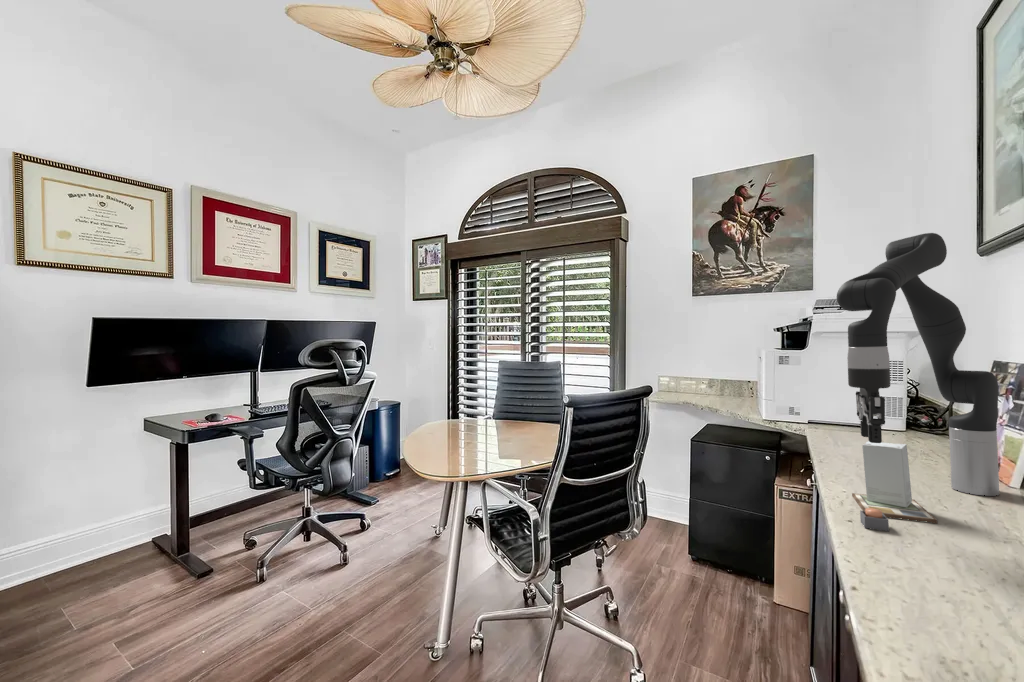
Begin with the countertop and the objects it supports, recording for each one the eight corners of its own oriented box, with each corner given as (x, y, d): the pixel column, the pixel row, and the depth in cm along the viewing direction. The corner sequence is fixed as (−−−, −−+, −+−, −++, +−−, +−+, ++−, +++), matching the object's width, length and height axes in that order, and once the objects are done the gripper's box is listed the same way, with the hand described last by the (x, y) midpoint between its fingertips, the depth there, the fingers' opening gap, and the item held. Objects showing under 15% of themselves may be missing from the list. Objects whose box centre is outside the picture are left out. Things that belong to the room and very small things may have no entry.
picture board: (852, 496, 121) (852, 492, 121) (914, 502, 115) (914, 499, 115) (866, 515, 108) (865, 511, 108) (937, 523, 102) (936, 519, 102)
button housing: (860, 521, 104) (860, 510, 104) (883, 524, 102) (882, 513, 102) (865, 528, 100) (864, 516, 100) (888, 531, 98) (888, 519, 98)
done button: (864, 514, 103) (863, 507, 103) (880, 516, 102) (880, 509, 102) (867, 518, 101) (867, 511, 101) (884, 520, 99) (883, 513, 99)
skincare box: (912, 503, 112) (909, 444, 112) (906, 509, 108) (904, 448, 109) (870, 495, 119) (868, 439, 119) (864, 500, 115) (861, 442, 115)
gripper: (899, 368, 94) (902, 447, 93) (880, 365, 106) (882, 435, 106) (855, 368, 97) (857, 444, 97) (841, 365, 110) (844, 433, 110)
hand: (870, 439), depth 101 cm, fingers open, 6 cm apart
